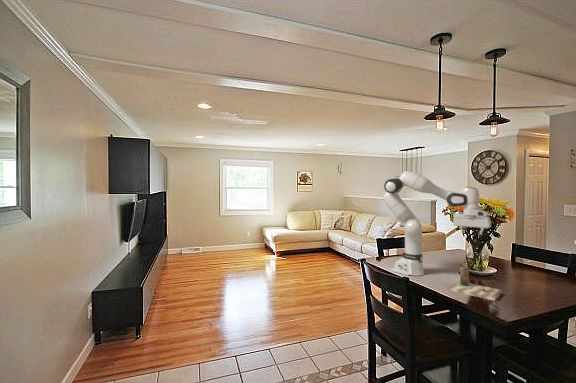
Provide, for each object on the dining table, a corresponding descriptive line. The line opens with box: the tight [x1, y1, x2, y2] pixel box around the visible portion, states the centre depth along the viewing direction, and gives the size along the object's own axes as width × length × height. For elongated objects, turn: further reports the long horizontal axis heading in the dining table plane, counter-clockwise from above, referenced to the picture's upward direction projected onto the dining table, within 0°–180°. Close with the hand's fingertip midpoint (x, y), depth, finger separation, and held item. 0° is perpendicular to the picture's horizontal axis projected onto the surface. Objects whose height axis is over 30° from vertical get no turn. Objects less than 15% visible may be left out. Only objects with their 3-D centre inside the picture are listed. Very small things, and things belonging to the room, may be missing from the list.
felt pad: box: [455, 282, 474, 289], centre depth 165 cm, size 8×8×1 cm
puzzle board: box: [448, 280, 502, 302], centre depth 161 cm, size 22×14×2 cm, turn 42°
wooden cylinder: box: [459, 266, 470, 286], centre depth 165 cm, size 4×4×10 cm
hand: (471, 234), depth 178 cm, fingers open, 8 cm apart
